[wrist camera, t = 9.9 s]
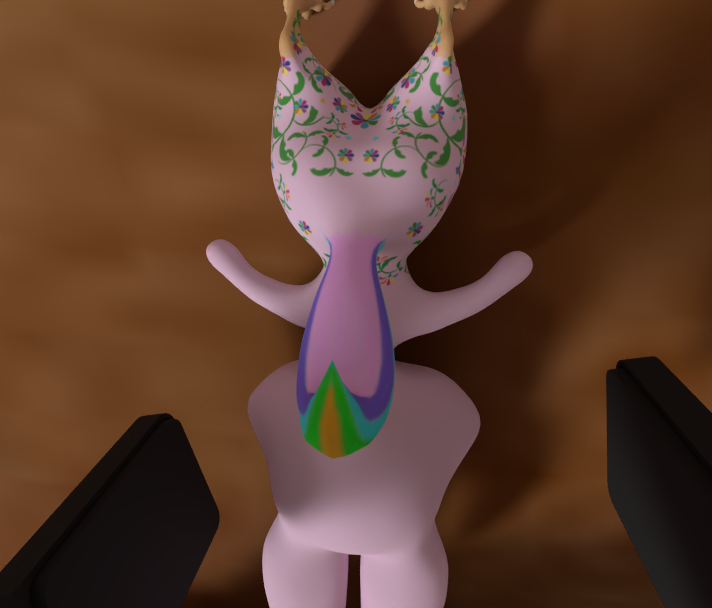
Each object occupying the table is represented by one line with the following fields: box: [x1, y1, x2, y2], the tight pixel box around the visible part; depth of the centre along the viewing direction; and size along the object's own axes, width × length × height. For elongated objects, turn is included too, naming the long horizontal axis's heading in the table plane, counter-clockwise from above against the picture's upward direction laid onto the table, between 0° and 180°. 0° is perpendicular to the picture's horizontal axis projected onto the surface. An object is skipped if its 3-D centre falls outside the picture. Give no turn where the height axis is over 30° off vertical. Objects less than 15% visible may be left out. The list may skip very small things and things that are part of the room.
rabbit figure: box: [206, 0, 533, 608], centre depth 9 cm, size 6×6×15 cm
